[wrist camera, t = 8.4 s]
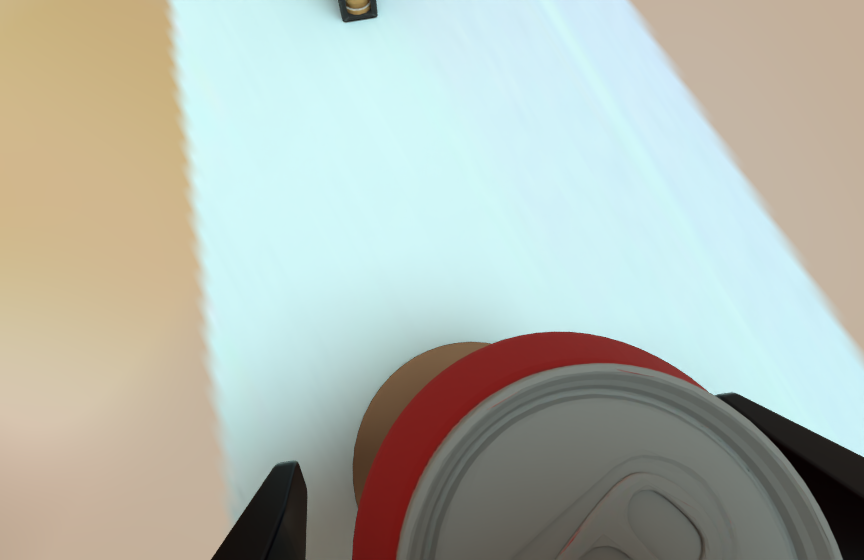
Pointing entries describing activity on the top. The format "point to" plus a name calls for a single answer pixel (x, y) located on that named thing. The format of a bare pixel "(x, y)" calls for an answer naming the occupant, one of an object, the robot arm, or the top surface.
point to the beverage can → (580, 465)
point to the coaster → (399, 403)
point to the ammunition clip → (357, 9)
